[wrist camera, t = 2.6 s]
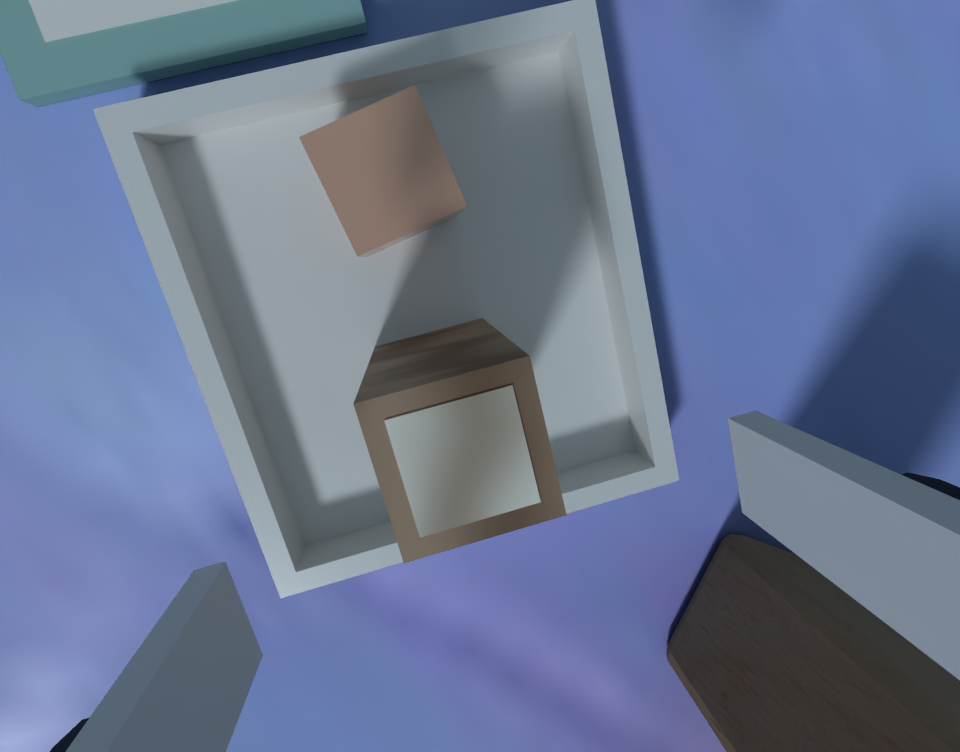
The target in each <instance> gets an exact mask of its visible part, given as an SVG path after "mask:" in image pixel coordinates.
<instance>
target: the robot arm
mask: <svg viewBox="0 0 960 752" xmlns="http://www.w3.org/2000/svg"><path fill="white" fill-rule="evenodd" d="M728 421H729V428H730V435H731V441H732V448H733V455H734V461H735V468H736V475H737V481H738V488H739V495H740V501H741V508H742V513H743V514H744V515H746V516H747V517H748V518H750V519H751V520H752V521H754V522H755V523H756V524H757V525H759V526H760V527H761V528H763V529H764V530H765V531H766V532H768V533H769V534H770V535H772V536H773V537H774V538H776V539H777V540H778V541H779V542H781V543H782V544H783V545H785V546H786V547H787V548H789V549H790V550H791V551H792V552H794V553H795V554H796V555H798V556H799V557H800V558H802V559H803V560H804V561H805V562H807V563H808V564H809V565H811V566H812V567H813V568H815V569H816V570H817V571H818V572H820V573H821V574H822V575H824V576H825V577H826V578H828V579H829V580H830V581H831V582H833V583H834V584H835V585H837V586H838V587H839V588H840V589H842V590H843V591H844V592H846V593H847V594H848V595H850V596H851V597H852V598H853V599H855V600H856V601H857V602H859V603H860V604H861V605H863V606H864V607H865V608H866V609H868V610H869V611H870V612H872V613H873V614H874V615H876V616H877V617H878V618H879V619H881V620H882V621H883V622H885V623H886V624H887V625H889V626H890V627H891V628H892V629H894V630H895V631H896V632H898V633H899V634H900V635H902V636H903V637H904V638H905V639H907V640H908V641H909V642H911V643H912V644H913V645H914V646H916V647H917V648H918V649H920V650H921V651H922V652H924V653H925V654H926V655H927V656H929V657H930V658H931V659H933V660H934V661H935V662H937V663H938V664H939V665H940V666H942V667H943V668H944V669H946V670H947V671H948V672H950V673H951V674H952V675H953V676H955V677H956V678H957V679H959V680H960V488H959V487H957V486H954V485H952V484H950V483H947V482H945V481H942V480H940V479H935V478H930V477H926V476H921V475H917V474H912V473H905V474H899V473H896V472H894V471H892V470H890V469H887V468H885V467H883V466H880V465H878V464H876V463H874V462H871V461H869V460H867V459H865V458H862V457H860V456H858V455H855V454H853V453H851V452H849V451H846V450H844V449H842V448H840V447H837V446H835V445H833V444H830V443H828V442H826V441H824V440H821V439H819V438H817V437H815V436H812V435H810V434H808V433H806V432H803V431H801V430H799V429H796V428H794V427H792V426H790V425H787V424H785V423H783V422H781V421H778V420H776V419H774V418H771V417H769V416H767V415H765V414H762V413H760V412H758V411H752V412H749V413H745V414H742V415H738V416H735V417H731V418H728ZM262 656H263V654H262V651H261V649H260V646H259V644H258V642H257V639H256V637H255V634H254V632H253V629H252V627H251V624H250V622H249V619H248V617H247V614H246V612H245V609H244V607H243V604H242V602H241V599H240V597H239V594H238V592H237V589H236V587H235V584H234V582H233V579H232V577H231V574H230V572H229V569H228V567H227V564H226V562H221V563H218V564H214V565H211V566H207V567H204V568H200V569H197V570H194V571H193V573H192V574H191V575H190V577H189V578H188V580H187V581H186V582H185V584H184V585H183V587H182V588H181V590H180V591H179V592H178V594H177V595H176V597H175V598H174V599H173V601H172V602H171V604H170V605H169V606H168V608H167V609H166V611H165V612H164V614H163V615H162V616H161V618H160V619H159V621H158V622H157V623H156V625H155V626H154V628H153V629H152V630H151V632H150V633H149V635H148V636H147V638H146V639H145V640H144V642H143V643H142V645H141V646H140V647H139V649H138V650H137V652H136V653H135V654H134V656H133V657H132V659H131V660H130V662H129V663H128V664H127V666H126V667H125V669H124V670H123V671H122V673H121V674H120V676H119V677H118V678H117V680H116V681H115V683H114V684H113V686H112V687H111V688H110V690H109V691H108V693H107V694H106V695H105V697H104V698H103V700H102V701H101V702H100V704H99V705H98V707H97V708H96V709H95V711H94V712H93V714H92V715H91V717H90V718H87V719H84V720H81V721H80V722H79V723H78V724H77V725H76V726H75V727H74V728H73V729H72V730H71V731H70V732H69V733H68V734H67V735H66V736H65V737H63V738H62V739H61V740H60V741H59V742H58V743H57V744H56V745H55V746H54V747H53V748H52V749H51V751H50V752H226V749H227V747H228V744H229V742H230V739H231V736H232V734H233V731H234V729H235V726H236V723H237V721H238V718H239V716H240V713H241V710H242V708H243V705H244V703H245V700H246V697H247V695H248V692H249V689H250V687H251V684H252V682H253V679H254V676H255V674H256V671H257V669H258V666H259V663H260V661H261V658H262Z"/></svg>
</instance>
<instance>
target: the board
mask: <svg viewBox="0 0 960 752" xmlns="http://www.w3.org/2000/svg"><path fill="white" fill-rule="evenodd" d="M364 33H368V30H367V24H366V20H365V16H364V12H363V9H362V5H361V1H360V0H0V53H1V55H2V58H3V60H4V63H5V65H6V68H7V70H8V72H9V75H10V77H11V80H12V82H13V85H14V87H15V89H16V92H17V94H18V97H19V99H20V100H21V101H24V102H26V103H29V104H31V105H34V106H36V107H39V106H44V105H48V104H53V103H57V102H61V101H66V100H70V99H75V98H79V97H84V96H88V95H93V94H97V93H101V92H106V91H110V90H115V89H119V88H124V87H128V86H133V85H137V84H141V83H146V82H150V81H155V80H159V79H164V78H168V77H173V76H177V75H181V74H186V73H190V72H195V71H199V70H204V69H208V68H213V67H217V66H221V65H226V64H230V63H235V62H239V61H244V60H248V59H253V58H257V57H261V56H266V55H270V54H275V53H279V52H284V51H288V50H293V49H297V48H302V47H306V46H310V45H315V44H319V43H324V42H328V41H333V40H337V39H342V38H346V37H350V36H355V35H359V34H364Z"/></svg>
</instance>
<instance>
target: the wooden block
mask: <svg viewBox="0 0 960 752" xmlns="http://www.w3.org/2000/svg"><path fill="white" fill-rule="evenodd" d="M666 654H667V659H668V662H669V663H670V665H671V666H672V668H673V669H674V671H675V672H676V674H677V676H678V677H679V679H680V680H681V682H682V683H683V685H684V686H685V688H686V689H687V691H688V693H689V694H690V696H691V697H692V699H693V700H694V702H695V703H696V705H697V706H698V708H699V710H700V711H701V713H702V714H703V716H704V717H705V719H706V720H707V722H708V723H709V725H710V727H711V728H712V730H713V731H714V733H715V734H716V736H717V737H718V739H719V740H720V742H721V744H722V745H723V747H724V748H725V750H726V751H727V752H960V680H959V679H957V678H956V677H955V676H953V675H952V674H951V673H950V672H948V671H947V670H946V669H944V668H943V667H942V666H940V665H939V664H938V663H937V662H935V661H934V660H933V659H931V658H930V657H929V656H927V655H926V654H925V653H924V652H922V651H921V650H920V649H918V648H917V647H916V646H914V645H913V644H912V643H911V642H909V641H908V640H907V639H905V638H904V637H903V636H902V635H900V634H899V633H898V632H896V631H895V630H894V629H892V628H891V627H890V626H889V625H887V624H886V623H885V622H883V621H882V620H881V619H879V618H878V617H877V616H876V615H874V614H873V613H872V612H870V611H869V610H868V609H866V608H865V607H864V606H863V605H861V604H860V603H859V602H857V601H856V600H855V599H853V598H852V597H851V596H850V595H848V594H847V593H846V592H844V591H843V590H842V589H840V588H839V587H838V586H837V585H835V584H834V583H833V582H831V581H830V580H829V579H828V578H826V577H825V576H824V575H822V574H821V573H820V572H818V571H817V570H816V569H815V568H813V567H812V566H811V565H809V564H808V563H807V562H805V561H804V560H803V559H802V558H800V557H799V556H798V555H796V554H794V553H791V552H788V551H786V550H783V549H780V548H777V547H775V546H772V545H769V544H767V543H764V542H761V541H758V540H756V539H753V538H750V537H747V536H745V535H739V534H728V535H727V536H726V537H725V538H724V539H722V541H721V543H720V544H719V546H718V548H717V550H716V552H715V554H714V556H713V558H712V560H711V562H710V564H709V566H708V568H707V570H706V571H705V573H704V575H703V577H702V579H701V581H700V583H699V585H698V587H697V589H696V591H695V593H694V595H693V597H692V598H691V600H690V602H689V604H688V606H687V608H686V610H685V612H684V614H683V616H682V618H681V620H680V622H679V624H678V625H677V627H676V629H675V631H674V633H673V635H672V637H671V639H670V641H669V643H668V646H667V653H666Z"/></svg>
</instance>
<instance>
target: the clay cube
mask: <svg viewBox="0 0 960 752" xmlns="http://www.w3.org/2000/svg"><path fill="white" fill-rule="evenodd" d="M299 139H300V141H301V143H302V145H303V147H304V149H305V151H306V153H307V155H308V157H309V159H310V161H311V163H312V165H313V167H314V169H315V171H316V173H317V175H318V177H319V179H320V181H321V183H322V185H323V187H324V189H325V192H326V194H327V196H328V198H329V200H330V202H331V204H332V206H333V208H334V210H335V212H336V214H337V216H338V218H339V220H340V222H341V224H342V226H343V228H344V230H345V232H346V234H347V236H348V238H349V240H350V242H351V245H352V247H353V249H354V251H355V253H356V255H357V257H369V256H371V255H374V254H376V253H378V252H380V251H382V250H384V249H387V248H389V247H391V246H393V245H395V244H398V243H400V242H402V241H404V240H406V239H408V238H411V237H413V236H415V235H417V234H419V233H422V232H424V231H426V230H428V229H430V228H433V227H435V226H437V225H439V224H441V223H443V222H446V221H448V220H450V219H452V218H454V217H456V216H457V215H458V214H459V213H460V212H462V211H463V210H464V209H465V208H466V207H467V205H466V202H465V200H464V198H463V195H462V193H461V191H460V188H459V186H458V184H457V181H456V179H455V177H454V174H453V172H452V170H451V167H450V165H449V163H448V160H447V158H446V156H445V153H444V151H443V149H442V146H441V144H440V142H439V139H438V137H437V135H436V132H435V130H434V128H433V125H432V123H431V121H430V118H429V116H428V114H427V112H426V109H425V107H424V105H423V102H422V100H421V98H420V95H419V93H418V91H417V88H416V86H415V85H414V86H412V87H409V88H407V89H405V90H403V91H400V92H398V93H396V94H394V95H391V96H389V97H387V98H385V99H383V100H380V101H378V102H376V103H374V104H371V105H369V106H367V107H365V108H362V109H360V110H358V111H356V112H354V113H351V114H349V115H347V116H345V117H342V118H340V119H338V120H336V121H334V122H331V123H329V124H327V125H325V126H322V127H320V128H318V129H316V130H313V131H311V132H309V133H307V134H305V135H302V136H300V137H299Z"/></svg>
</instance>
